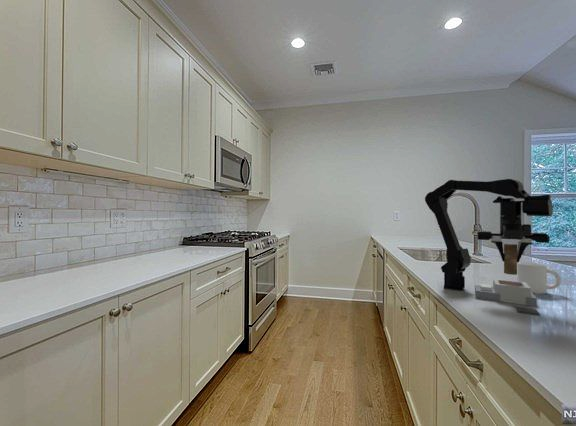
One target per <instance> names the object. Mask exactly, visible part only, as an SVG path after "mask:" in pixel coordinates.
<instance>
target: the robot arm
mask: <svg viewBox="0 0 576 426" xmlns="http://www.w3.org/2000/svg"><path fill="white" fill-rule="evenodd" d="M456 191H466V192H467V191H470V192H484V193H485V192H486V193H491V194H496V195H499V196H497V197H496V198H495V199H494V200H493V201H492V203H493V204H499V205H500V206H499V232H498V233H495V232H494V233H493V232H492V231H491V230H490V231H489V230H488V231H487V230H478V231H477V232H476V239H477V240H478V241H479V240H480V241H489V240H490V243H491V244H492V243H493V244H495V246H496V248H497V250H498V252H499V255H500V258H501V261H502V262H504V243H503V241H502V239H503V240H518V242H517V263H518V262H521V261H520V260H521V258H522V256H523V253H524V252H525V250H526V248H527V247H528V246H529V245H530V246H531V245H533V242H532V241H534V242H535V243H543V244H544V243H550V235H549V234H548V233H546V232H532V226H531V223H530V224H522V213H523V214H526V215H527V216H526V217H552V216H553V213H554V205H553V201H552V195H551V194H542V195H530V193H528V192H527V191H526V190H525V189H524V184H523V182H521V181H520V180H517V179H513V178H504V179H498V180H491V181H490V180H489V181H482V180H481V181H480V180H456V179H449V180H447V181H446V182H444V184H442V185H441V186H439V187H437V188H435V189H434V190H433V191H430V192H428V193H427V194H426V196H425V197H424V201H425V204H426V205H427V207H428V208H429V210H430V211H431V212H432V213H433V214H434V216H435V219H436V222H437V225H438V227H439V230H440V232H441V235H442V238H443V240H444V241H443V242H444V244H445V247H446V252H445V253H446V254H445V257H446V261H447V262H446V263H443V265H442V266H441V267H440V269H441V272H442V273H444V274H443V275H444V276H443V278H444V279H443V280H444V281H443V282H444V283H443V288H444V289H450V290H457V291H464V289H465V288H466V287H465V285H466V284H465V283H466V282H465V279H466V278H465V275H464V272H465V271H466V269H467V268H468V267H469V266H470V265H471V262H472V261H471V259H472V257H471V255H470V253H469V252H470V251H469V249H468V248H463V247H462V246H461V244H460V241H459V239H458V237H457V233H456V232H455V227H454V226H453V223H452V220H451V218H450V216H449V213H448V203H449V202H448V199H449V198H450V197H452V195H454V193H456ZM503 196H505V197H506V198H505V197H503ZM515 199H522V200H515Z"/></svg>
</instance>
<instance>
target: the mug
mask: <svg viewBox="0 0 576 426" xmlns="http://www.w3.org/2000/svg"><path fill="white" fill-rule="evenodd" d="M548 274H551V275H553V276H554V278H555V283H553V284H551V285H549V284H548ZM517 281H519V282H526V283H527V285H528V286H529V287H530V288H531V292H532V293H533V294H534V295H536V294H538V295H544V294H546V293H547V292H548V291H547V290H553V289H557V288H558V287H559V286H560V285H561V282H562V278H561V276H560V274H559V273H558V272H557V271H556V270H554V269H551V268H548V266H547V264H545V263H539V262H532V261H531V262H530V261H519V262H517Z"/></svg>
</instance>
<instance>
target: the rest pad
mask: <svg viewBox="0 0 576 426" xmlns="http://www.w3.org/2000/svg"><path fill="white" fill-rule="evenodd" d="M514 308H515V310H516V312H517V313H520V314H527V315H533V316H534V315H535V316H539V317H540V316H541V313H540V312H539V311H538V309H536V308H532V307H523V306H518V305H517V306H516V305H515V306H514Z"/></svg>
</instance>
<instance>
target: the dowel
mask: <svg viewBox="0 0 576 426" xmlns="http://www.w3.org/2000/svg"><path fill="white" fill-rule="evenodd" d="M517 249H518V243H517V244H516V243H503V251H504V261H503V273H504V274H505V275H511V276H512V275H514V276H515V275H517V276H518V262H517Z"/></svg>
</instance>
